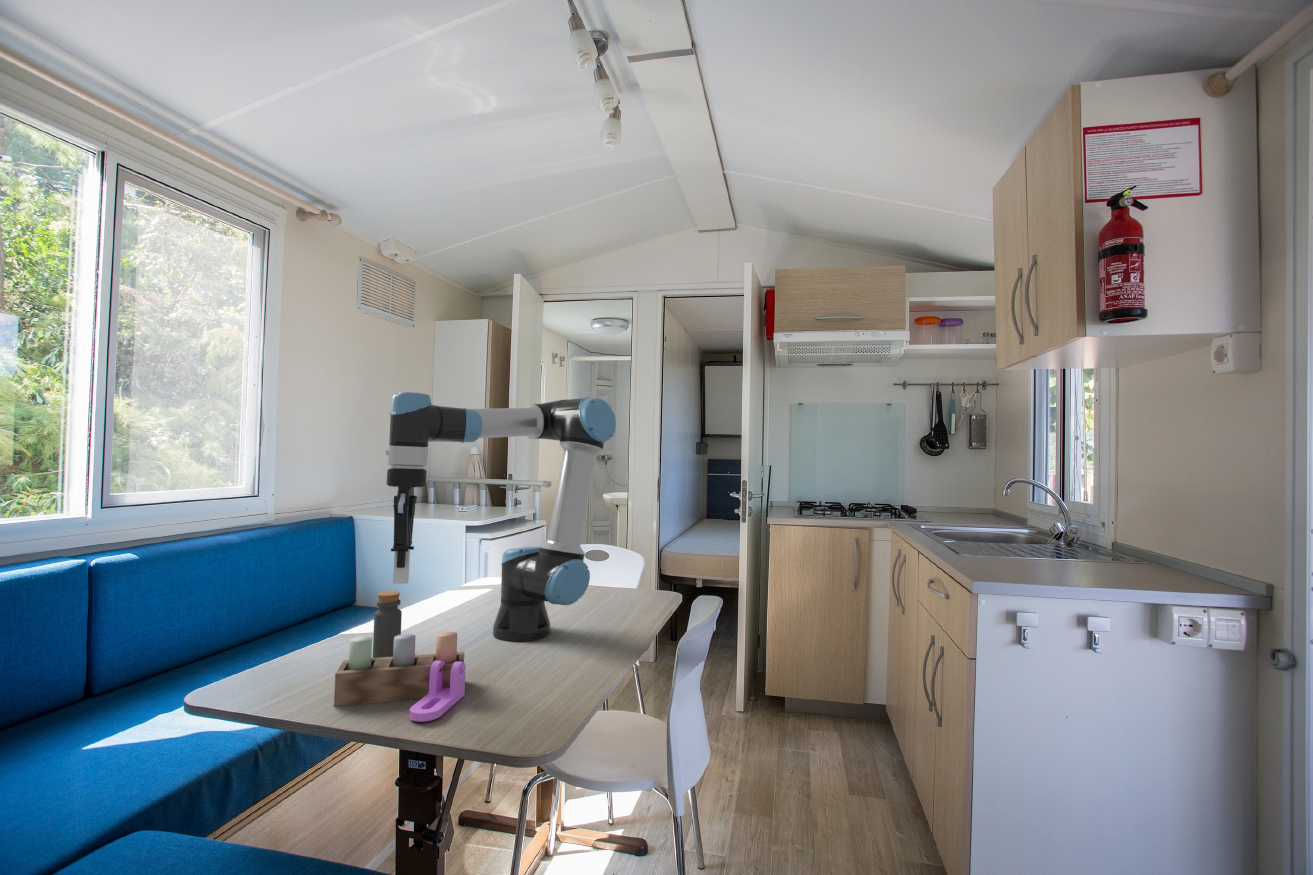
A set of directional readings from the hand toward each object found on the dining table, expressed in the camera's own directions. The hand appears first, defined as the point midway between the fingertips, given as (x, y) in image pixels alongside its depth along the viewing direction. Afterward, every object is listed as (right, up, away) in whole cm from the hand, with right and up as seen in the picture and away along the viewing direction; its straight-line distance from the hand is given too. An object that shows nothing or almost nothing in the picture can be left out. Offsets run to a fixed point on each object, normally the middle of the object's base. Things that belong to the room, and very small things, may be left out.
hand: (400, 582), depth 122 cm
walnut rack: (+2, -21, -3) cm, 22 cm away
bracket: (+11, -21, -10) cm, 26 cm away
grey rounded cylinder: (+2, -17, -3) cm, 17 cm away
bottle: (-11, -22, +17) cm, 30 cm away
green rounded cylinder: (-6, -17, -5) cm, 18 cm away
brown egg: (+9, -17, 0) cm, 19 cm away
